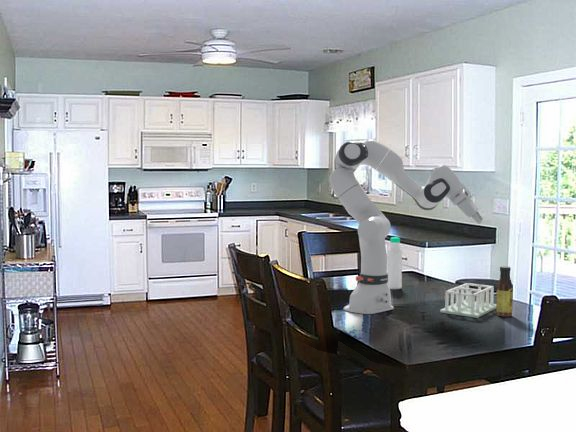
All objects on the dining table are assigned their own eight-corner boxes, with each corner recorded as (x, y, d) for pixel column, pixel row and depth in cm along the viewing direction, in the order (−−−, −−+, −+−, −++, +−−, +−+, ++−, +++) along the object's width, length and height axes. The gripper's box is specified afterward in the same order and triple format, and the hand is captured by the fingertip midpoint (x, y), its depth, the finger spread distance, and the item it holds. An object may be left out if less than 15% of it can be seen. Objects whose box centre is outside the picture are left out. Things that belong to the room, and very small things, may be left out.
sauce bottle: (513, 317, 258) (514, 268, 256) (496, 317, 259) (498, 268, 258) (511, 314, 265) (512, 265, 263) (495, 313, 266) (496, 265, 264)
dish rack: (477, 317, 258) (478, 295, 257) (439, 312, 267) (440, 290, 267) (499, 306, 278) (499, 286, 277) (463, 301, 287) (463, 281, 287)
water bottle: (401, 286, 321) (402, 236, 319) (402, 289, 314) (403, 238, 312) (386, 286, 322) (387, 236, 320) (387, 289, 315) (388, 238, 313)
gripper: (456, 199, 290) (476, 223, 289) (452, 202, 271) (473, 228, 269) (467, 190, 288) (487, 214, 287) (464, 193, 269) (485, 219, 267)
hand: (480, 221), depth 278 cm, fingers open, 8 cm apart
